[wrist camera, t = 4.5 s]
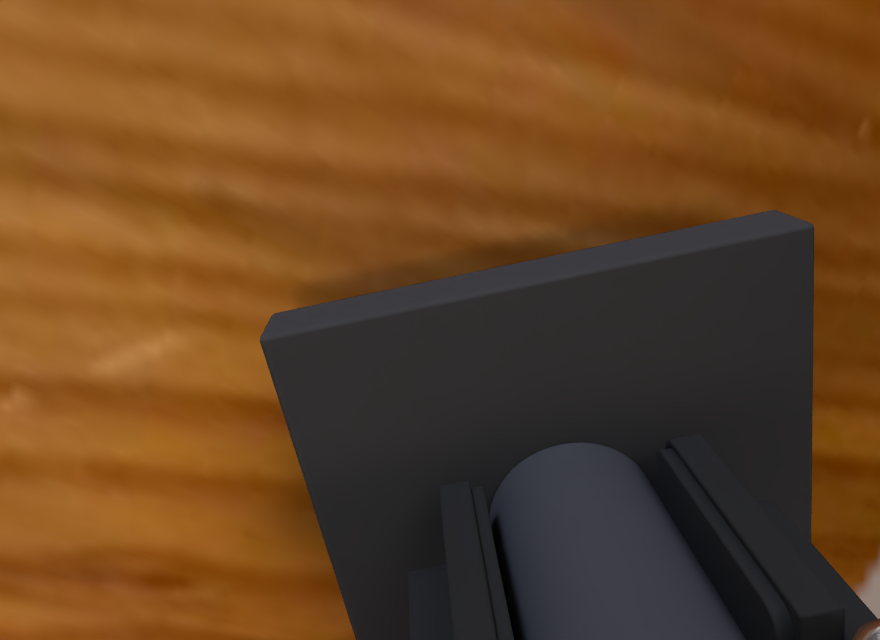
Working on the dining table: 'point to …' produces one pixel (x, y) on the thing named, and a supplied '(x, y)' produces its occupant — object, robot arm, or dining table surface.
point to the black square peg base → (556, 421)
